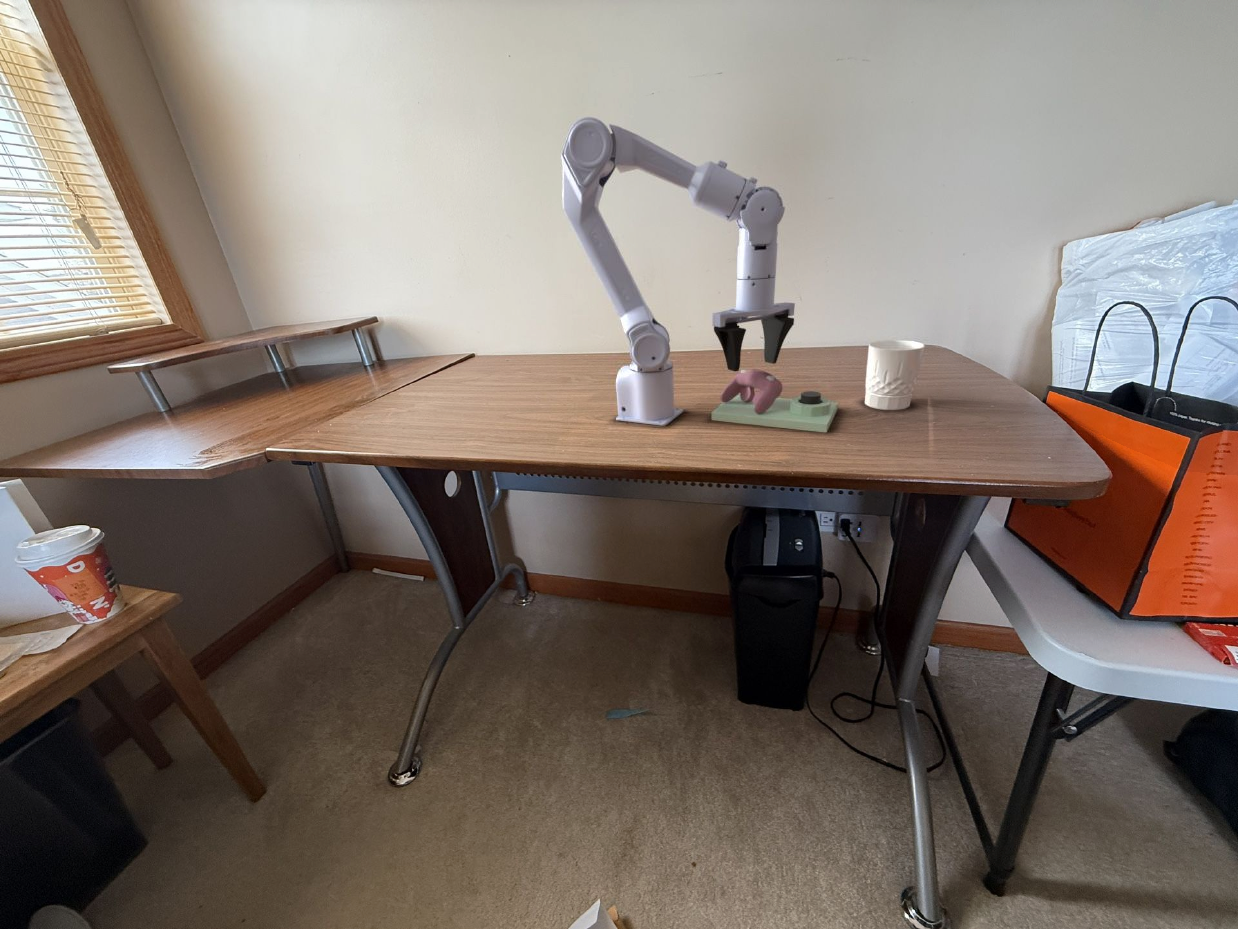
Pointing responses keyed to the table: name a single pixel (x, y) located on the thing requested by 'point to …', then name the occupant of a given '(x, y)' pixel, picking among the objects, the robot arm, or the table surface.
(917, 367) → the white cup
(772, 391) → the video game controller
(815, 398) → the button
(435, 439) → the table surface
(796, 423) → the scale
